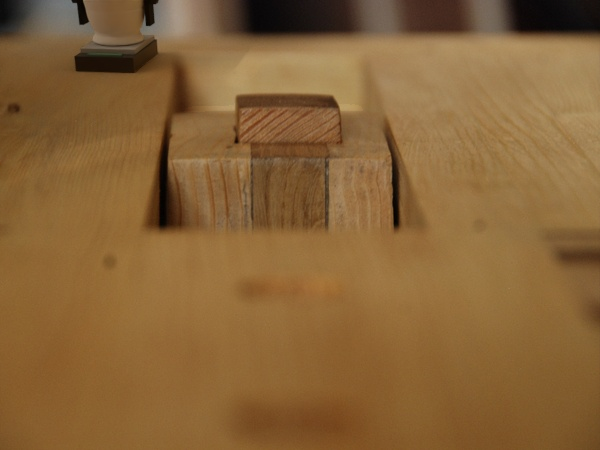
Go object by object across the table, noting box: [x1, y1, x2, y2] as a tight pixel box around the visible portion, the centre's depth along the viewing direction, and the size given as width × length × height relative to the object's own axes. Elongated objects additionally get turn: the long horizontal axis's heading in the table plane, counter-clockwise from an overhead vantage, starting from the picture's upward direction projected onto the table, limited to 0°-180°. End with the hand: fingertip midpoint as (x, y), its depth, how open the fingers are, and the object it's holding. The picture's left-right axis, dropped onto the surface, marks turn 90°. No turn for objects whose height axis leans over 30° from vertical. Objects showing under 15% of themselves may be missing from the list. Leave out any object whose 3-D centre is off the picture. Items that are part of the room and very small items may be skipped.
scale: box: [74, 34, 159, 74], centre depth 136 cm, size 10×14×3 cm
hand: (117, 24), depth 135 cm, fingers closed on jar, 10 cm apart
